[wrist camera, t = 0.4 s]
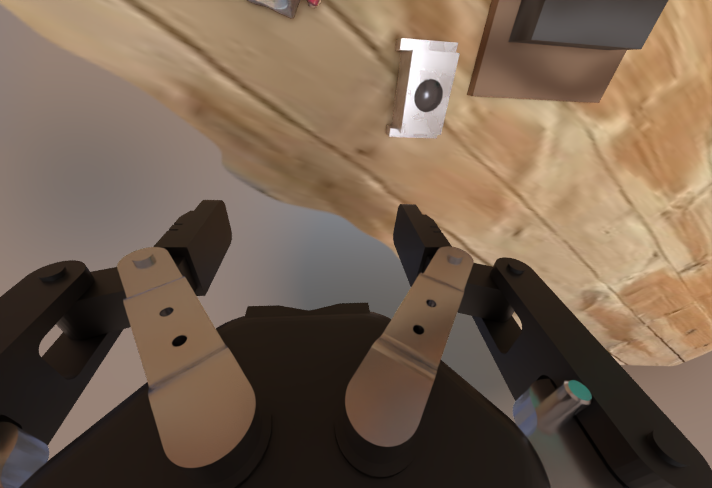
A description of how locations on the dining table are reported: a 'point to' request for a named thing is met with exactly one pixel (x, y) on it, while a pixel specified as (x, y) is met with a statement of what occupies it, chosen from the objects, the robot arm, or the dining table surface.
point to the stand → (558, 47)
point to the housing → (422, 87)
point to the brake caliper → (284, 5)
